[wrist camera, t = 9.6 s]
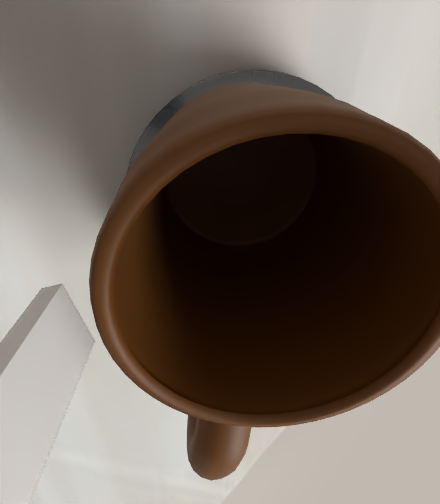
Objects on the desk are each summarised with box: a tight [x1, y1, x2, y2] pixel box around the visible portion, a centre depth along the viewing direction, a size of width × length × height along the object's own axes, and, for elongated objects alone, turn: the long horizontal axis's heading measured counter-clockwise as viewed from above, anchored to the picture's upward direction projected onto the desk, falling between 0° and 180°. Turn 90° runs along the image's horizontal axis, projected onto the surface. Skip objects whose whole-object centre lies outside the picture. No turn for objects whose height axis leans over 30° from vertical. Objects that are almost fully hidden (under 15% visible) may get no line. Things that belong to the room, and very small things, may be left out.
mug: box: [89, 83, 440, 480], centre depth 11 cm, size 12×8×9 cm, turn 168°
